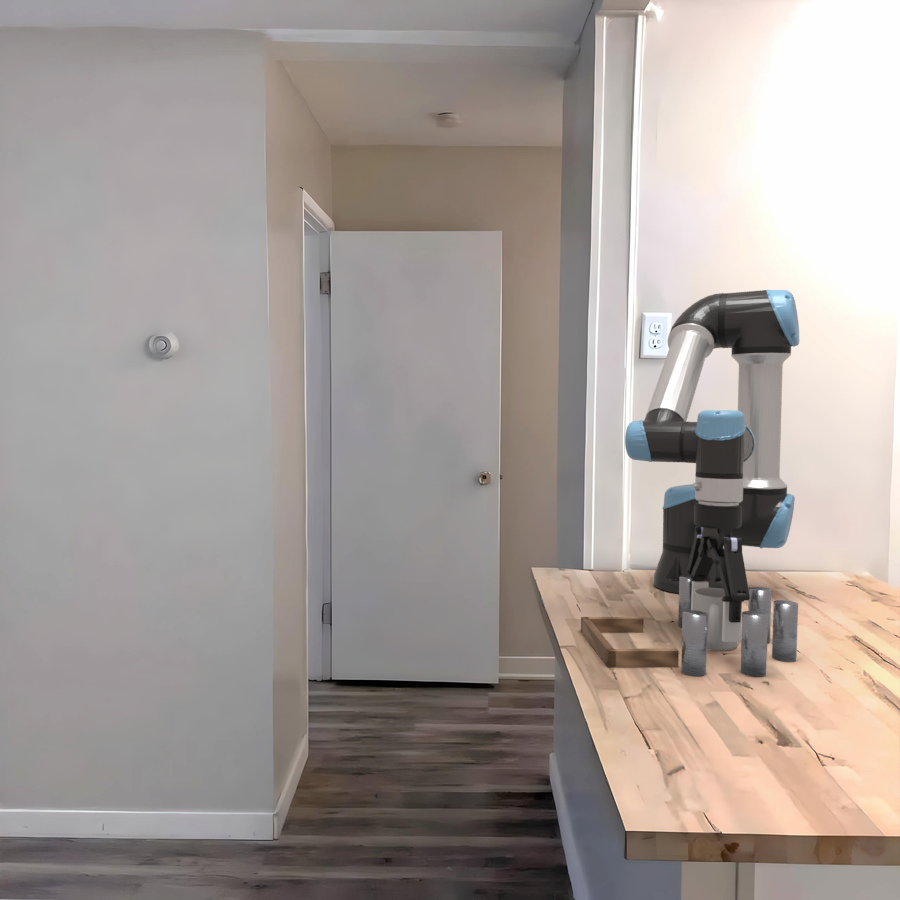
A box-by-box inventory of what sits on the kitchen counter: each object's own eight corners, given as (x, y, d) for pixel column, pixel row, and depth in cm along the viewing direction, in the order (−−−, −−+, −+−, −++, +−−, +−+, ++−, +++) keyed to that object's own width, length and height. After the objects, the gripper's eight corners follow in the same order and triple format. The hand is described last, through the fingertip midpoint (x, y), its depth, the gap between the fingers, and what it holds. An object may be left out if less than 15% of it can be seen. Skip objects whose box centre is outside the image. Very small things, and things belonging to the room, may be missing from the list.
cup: (737, 641, 130) (739, 590, 129) (736, 658, 121) (738, 603, 120) (694, 636, 133) (695, 586, 132) (689, 653, 123) (690, 599, 123)
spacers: (741, 623, 141) (743, 575, 140) (822, 676, 113) (824, 617, 112) (633, 623, 140) (634, 575, 139) (687, 677, 112) (688, 617, 111)
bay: (641, 630, 136) (641, 616, 136) (678, 666, 117) (678, 650, 116) (580, 630, 135) (581, 616, 135) (608, 667, 116) (608, 651, 116)
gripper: (670, 495, 138) (667, 610, 138) (726, 512, 113) (722, 652, 114) (711, 495, 138) (707, 610, 139) (776, 512, 113) (771, 652, 114)
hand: (714, 629), depth 126 cm, fingers open, 13 cm apart
